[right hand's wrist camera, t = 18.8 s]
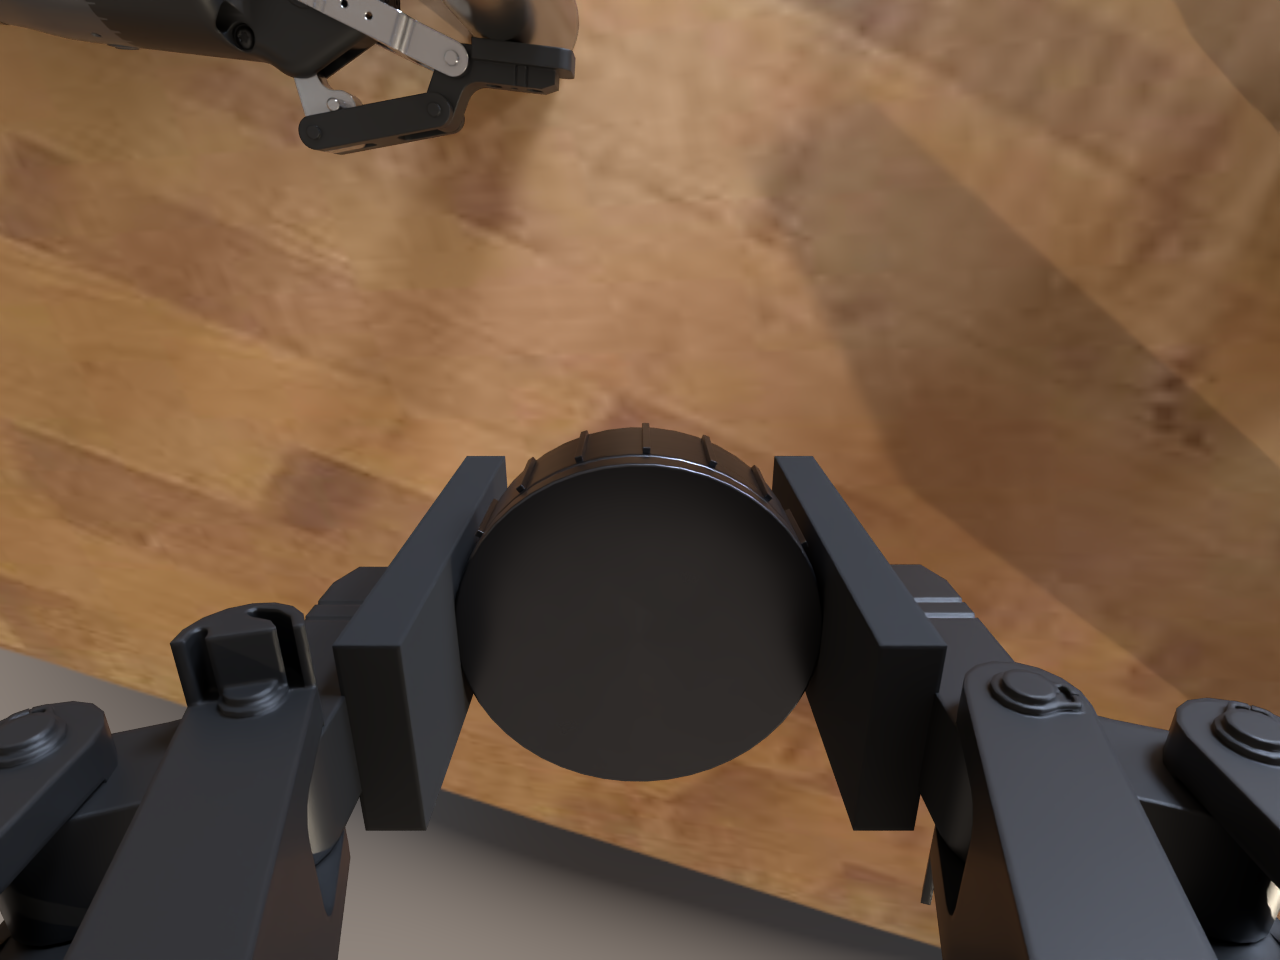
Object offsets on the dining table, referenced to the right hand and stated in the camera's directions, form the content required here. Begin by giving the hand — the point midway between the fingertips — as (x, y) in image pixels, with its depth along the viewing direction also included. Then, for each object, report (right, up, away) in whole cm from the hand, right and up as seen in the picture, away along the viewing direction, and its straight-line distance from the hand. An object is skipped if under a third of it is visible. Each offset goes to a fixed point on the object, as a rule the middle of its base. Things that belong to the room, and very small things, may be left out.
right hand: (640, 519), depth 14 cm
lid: (0, -1, -4) cm, 4 cm away
